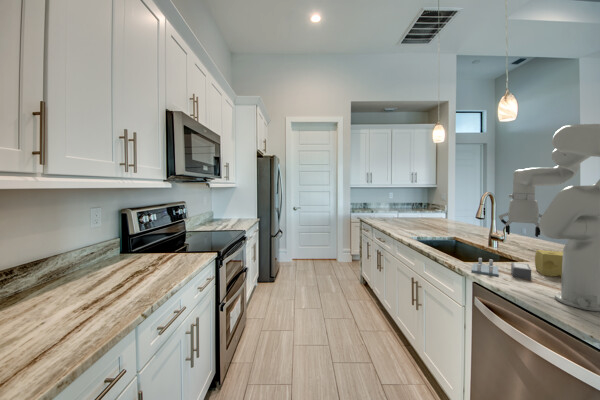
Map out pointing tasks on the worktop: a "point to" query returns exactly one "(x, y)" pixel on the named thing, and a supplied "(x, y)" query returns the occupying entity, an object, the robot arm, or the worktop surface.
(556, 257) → the cheese
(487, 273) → the grey piece
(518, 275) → the block
